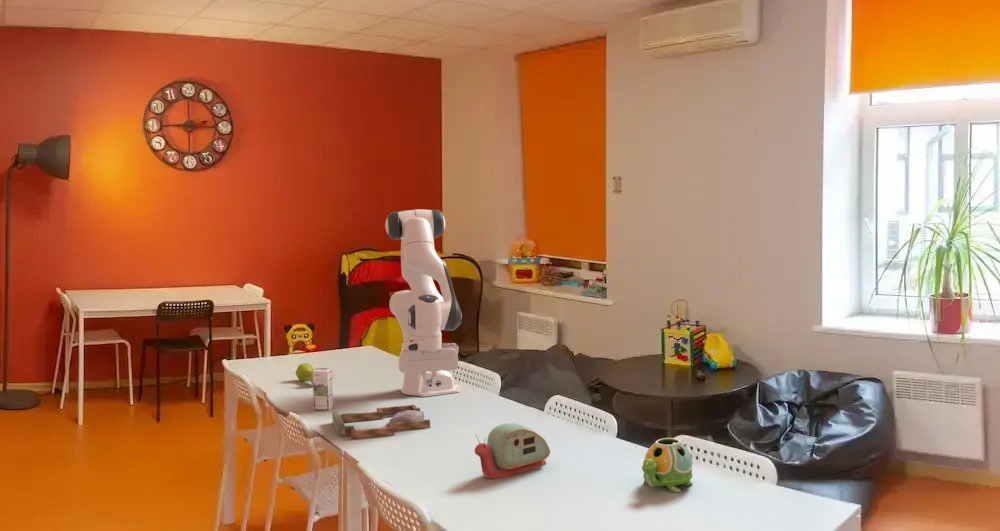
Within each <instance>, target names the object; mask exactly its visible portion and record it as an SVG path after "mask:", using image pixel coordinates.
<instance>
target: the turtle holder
mask: <svg viewBox="0 0 1000 531" xmlns="http://www.w3.org/2000/svg"><path fill="white" fill-rule="evenodd" d="M693 466H694V465H693V458H692V455H691V454H690V451H689V450H688V448H687V447H686V445H684V443H683V442H682V441H681V440H680V439H677V438H673V437H665V438H660V439H656V441H655V442H654V443H652V445H651V446H650V447H649V448H648V449H647V451H646V452H645V456H644V460H643V462H642V465H641V469H642V472H643V484H644V485H645V486H650V487H651V488H652V487H653V488H654V487H667V490H669V492H671V493H675V494H677V493H680V492H681V491H682V490H681V488H678V487H677V486H679V485H682V484H684V486H685V487H690V486H693V481H691V479H692V478H693Z"/></svg>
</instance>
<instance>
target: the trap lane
mask: <svg viewBox="0 0 1000 531" xmlns="http://www.w3.org/2000/svg"><path fill="white" fill-rule="evenodd" d="M406 410H415V411H421V408H420V407H417V406H416V404H407V405H406V404H405V405H397V406H394V405H393V406H384V407H382V406H381V407H376V411H369V412H367V411H365V412H358V411H357V412H356V411H354V412H344V413H343V412H342V413H340V412H339V410H332V412H331V414H332V417H331V418H332V425H333V427H334V429H335V432H336V433H337V436H338V437H348V436H350V438H351V439H352V440H360V439H370V438H380V437H381V438H382V437H390V436H391V437H392V436H395V432H401V431H409V430H410V431H411V430H420V429H431V420H430V419H424V420H417V421H407V422H396V423H390V422H388V423H386V424H387V426H386V427H377V428H367V429H355V426H354V424H353V425H345V423H354V422H365V421H375V420H377V421H378V420H383V419H385V418H387V419H388V418H392V417H393V416H394V415H395V414H397V413H398V412H402V411H406Z"/></svg>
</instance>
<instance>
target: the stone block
mask: <svg viewBox="0 0 1000 531" xmlns="http://www.w3.org/2000/svg"><path fill="white" fill-rule="evenodd" d="M417 420H425V412H424V410H420V411H415V410H406V411H402V412H398V413H397V414H395V415H394V416H393V417H390V419H389V423H396V422H407V421H417Z"/></svg>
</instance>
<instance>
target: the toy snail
mask: <svg viewBox="0 0 1000 531" xmlns="http://www.w3.org/2000/svg"><path fill="white" fill-rule="evenodd" d="M475 437H476V438H477V441H478V444H477V445H476V446H475V448H474V454H475V455H476V456H478V457H479V458H480V459H479V460H480V464H481V471H482V475H483V476H484V477H485V479H488V480H489V479H490V480H491V479H492V480H497V479H502V478H503V479H504V478H507V477H512V476H514V475H519V474H522V473H525V472H529V471H533V470H535V469H538V468H541V467H543V466H545V465H546V464H547V461H546V459H547V458H548V457H550V455H551V454H550V453H551V450H550V447H549V445H548V443H547V441H546V440H545V438H544V436H542V435H541V434H540V433H538V432H537V431H535V430H534V429H532V428H530V427H528V426H525V425H524V424H523V425H522V424H519V423H517V422H516V423H515V422H507V423H502V424H501V423H500V424H499V425H497V426H495V427H493V428H492V430H491V431H490V432H489V434H488V435H487V441H486V442H487V443H486V442H480V440H479V437H478V434H475ZM483 439H484V440H486V437H484V438H483Z"/></svg>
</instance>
